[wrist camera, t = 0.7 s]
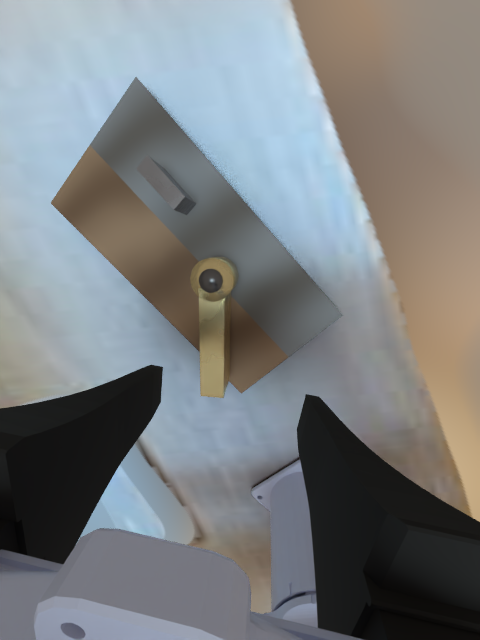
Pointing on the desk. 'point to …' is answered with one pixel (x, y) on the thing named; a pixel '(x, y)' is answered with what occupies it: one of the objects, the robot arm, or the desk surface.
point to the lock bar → (214, 321)
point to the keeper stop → (166, 185)
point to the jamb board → (189, 238)
